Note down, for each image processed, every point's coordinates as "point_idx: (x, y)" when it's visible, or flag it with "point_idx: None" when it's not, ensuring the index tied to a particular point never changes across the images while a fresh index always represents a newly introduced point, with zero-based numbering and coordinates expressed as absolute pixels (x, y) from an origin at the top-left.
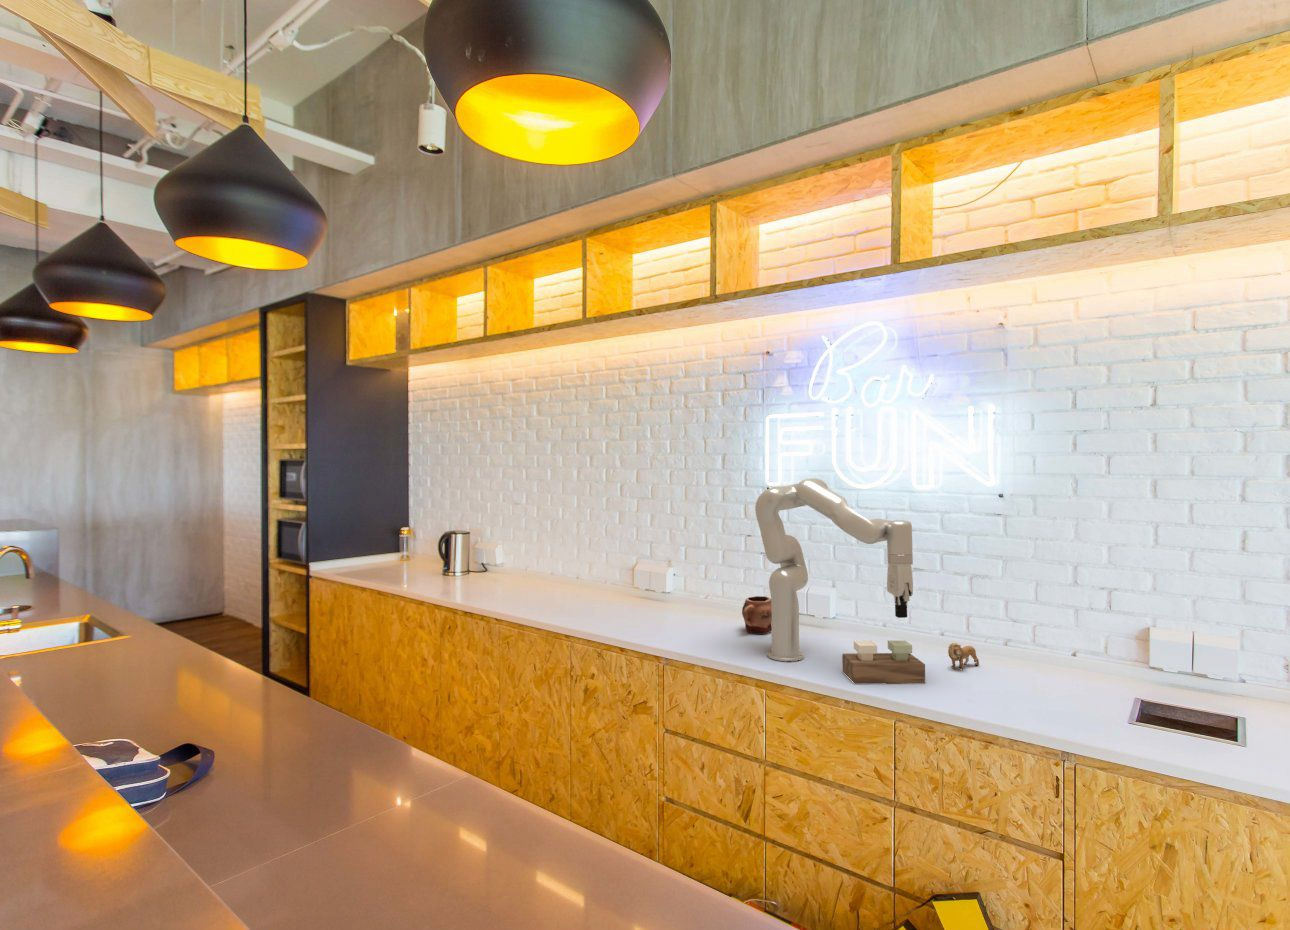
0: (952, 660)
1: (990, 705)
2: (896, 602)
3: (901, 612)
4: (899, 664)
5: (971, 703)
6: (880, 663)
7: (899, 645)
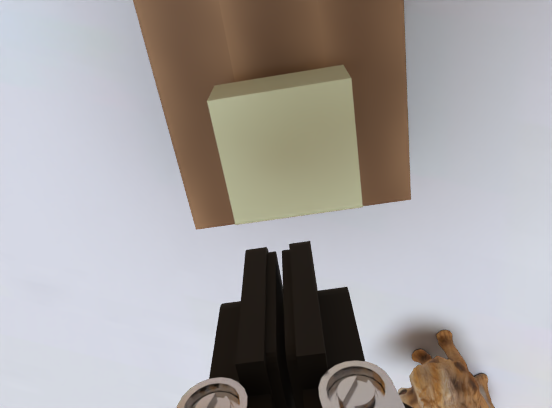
0: (451, 356)
1: (13, 334)
2: (318, 396)
3: (218, 331)
4: (158, 90)
5: (9, 286)
6: None
7: (217, 140)
